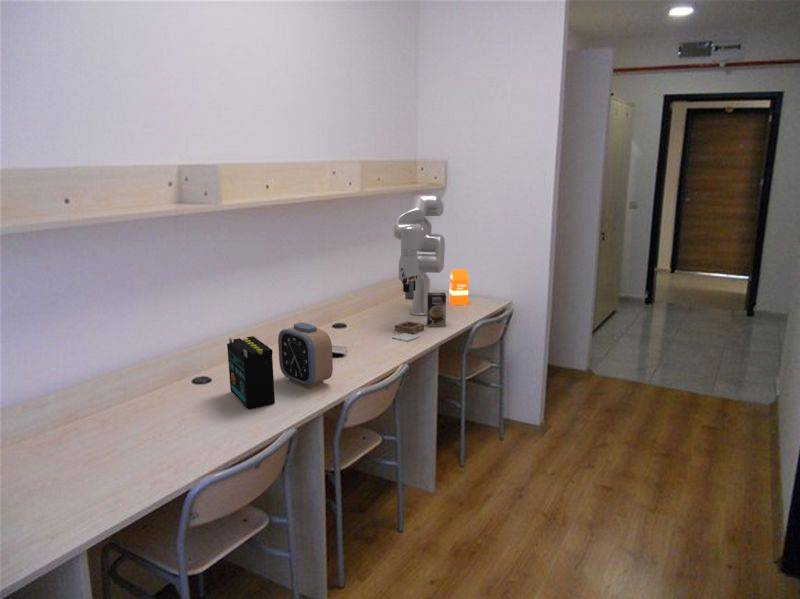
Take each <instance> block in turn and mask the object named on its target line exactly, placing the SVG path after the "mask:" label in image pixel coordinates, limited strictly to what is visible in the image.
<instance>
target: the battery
mask: <svg viewBox="0 0 800 599" xmlns="http://www.w3.org/2000/svg"><path fill="white" fill-rule="evenodd" d="M228 340H229V342H228V343H226V347H227V348H226V349H227V358H228V359H227V361H228V373H229V376H228V377H229V389H230V392H231V393H232V394H233V395H234V396H235V397H236V398H237V399H238V400H239V401H240V402H241V404H242V405H243V406H244V407H245V408H246V409H247V410H253V409H258V408H262V407H268V406H272V405H274V404H276V403H275V402H276V399H275V398H276V396H275V381H274V380H275V378H274V363H273V361H274V360H273V353H274V352H273V349H271V347H269V346H268V345H267V344H265V343H263V342H262V341H260V340H259V339H258V338H256V337H255V336H254V335H253V336H247V337H245V338H243V339H242V338H240V337H239V338H233V339H232V338H231V337H229V338H228Z"/></svg>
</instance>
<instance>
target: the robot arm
mask: <svg viewBox="0 0 800 599" xmlns="http://www.w3.org/2000/svg"><path fill="white" fill-rule="evenodd" d="M444 207H445V206H444V202H443V200H442V199H441V198H440V196H438V195H437V194H417V195H415V196H414V197H413V198H412V199H411V201H410V205H409V210H408V211H406V212H404V213H403V214H401V215H399V216H398V217H397V219H396V221H395V223H394V228H393V235H394V238H395V239H397V240H400V256H399V261H398V280H400V281H401V284H402V292H403V293H405V292H407V293H408V292H409V284H408V281H409V277H413V278H414V299H412V302H411V303H412V307H411V309H410V310H409V314H411V315H413V316H427V293H431V279H430V277H429V275H427V274H429V273H431V274H432V273H433V274H434V273H435V274H436V273H437V274H439V273H442V272H443V271H444V267H445V253H446V252H445V250H446V242H445V237H444V235H442V234H439V233H435V234H434V233H432V229H433V228H432V223H431V222H430V220H428V218H427V217H440V216H441V217H442V215H443V213H444ZM418 252H419V253H418ZM427 253H431V254H427ZM432 253H435V254H432ZM405 279H406V280H405Z"/></svg>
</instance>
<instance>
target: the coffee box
mask: <svg viewBox="0 0 800 599" xmlns="http://www.w3.org/2000/svg"><path fill="white" fill-rule="evenodd" d="M446 319H447V295H446V292H430V293H427V315H426V327H427V328H443V327H446V322H447V320H446Z"/></svg>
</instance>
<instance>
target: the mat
mask: <svg viewBox="0 0 800 599" xmlns="http://www.w3.org/2000/svg"><path fill="white" fill-rule="evenodd" d="M418 337H420V335H417V334H413V335H412V334H408V333H400V334H397V335H394V336H392V337H391V338H392V339H393V338H395V339H394V340H397V339H399V340H398V341H401V340H404V341H403V342H405V341H408V342H411V341H413V340H412V339H414V340H417V339H419V338H418ZM416 338H417V339H416ZM410 340H411V341H410Z"/></svg>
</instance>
